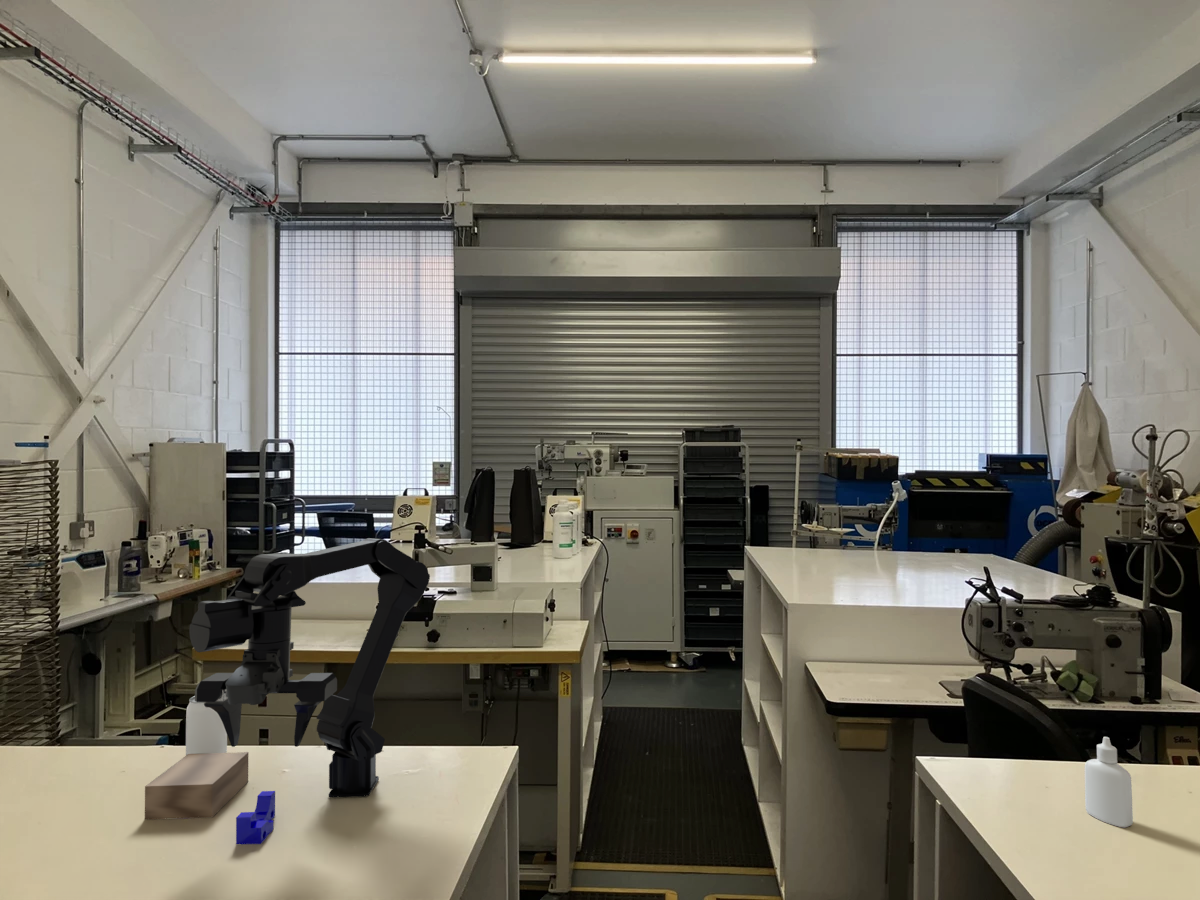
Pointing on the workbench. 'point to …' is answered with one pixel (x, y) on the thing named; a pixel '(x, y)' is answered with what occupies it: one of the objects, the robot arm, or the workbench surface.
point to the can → (204, 730)
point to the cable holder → (256, 820)
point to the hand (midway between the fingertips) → (266, 745)
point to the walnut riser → (196, 786)
